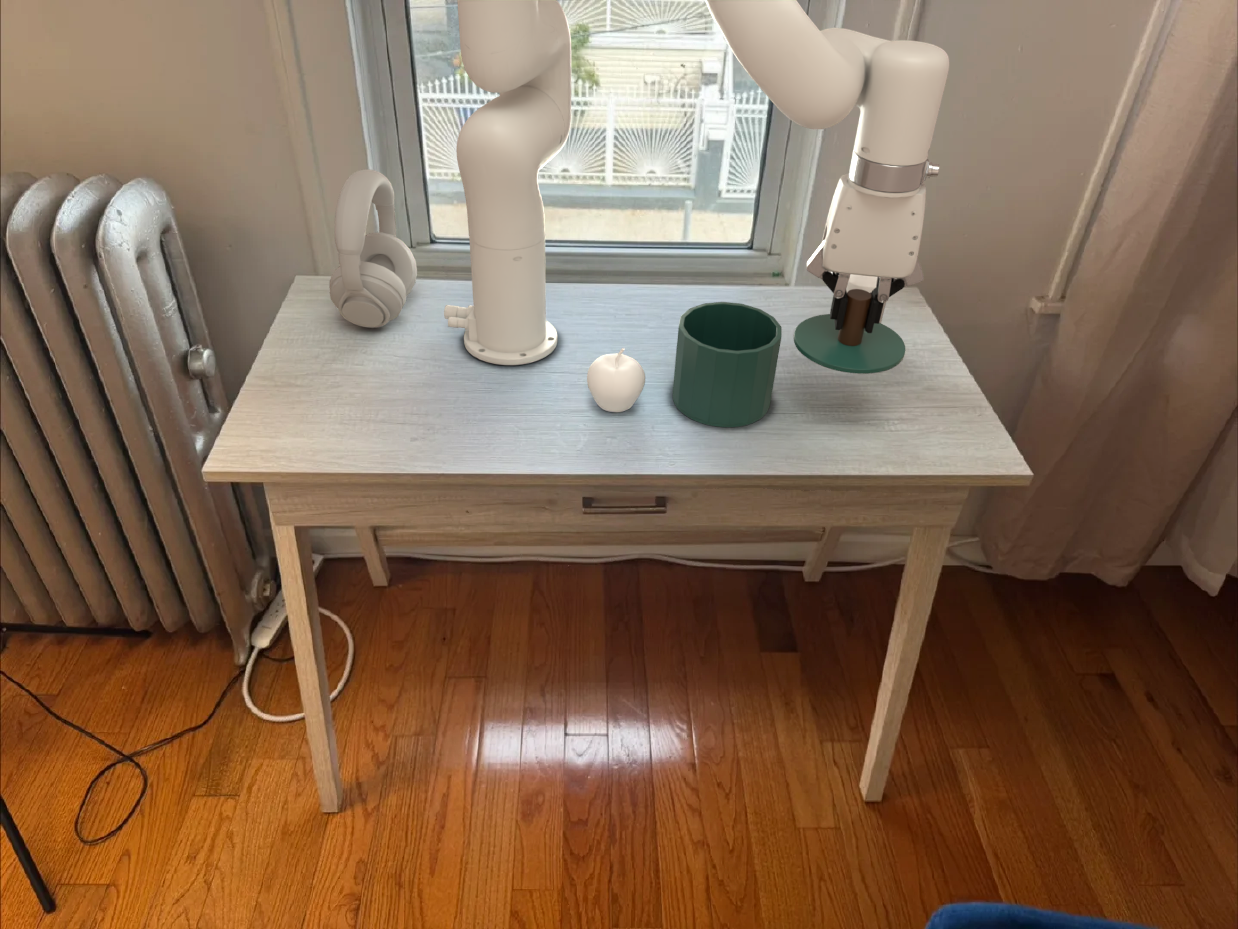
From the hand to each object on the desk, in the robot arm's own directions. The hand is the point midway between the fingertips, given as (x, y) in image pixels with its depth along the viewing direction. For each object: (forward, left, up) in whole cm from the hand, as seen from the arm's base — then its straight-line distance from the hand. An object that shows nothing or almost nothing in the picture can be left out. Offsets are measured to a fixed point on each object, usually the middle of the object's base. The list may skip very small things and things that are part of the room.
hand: (852, 324), depth 108 cm
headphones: (-63, +12, -13) cm, 66 cm away
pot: (-14, 0, -12) cm, 19 cm away
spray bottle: (+3, +16, -13) cm, 21 cm away
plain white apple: (-27, -4, -13) cm, 30 cm away
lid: (0, 0, -3) cm, 3 cm away
